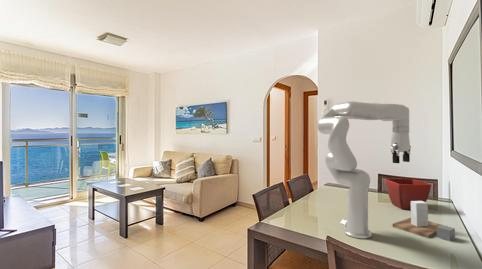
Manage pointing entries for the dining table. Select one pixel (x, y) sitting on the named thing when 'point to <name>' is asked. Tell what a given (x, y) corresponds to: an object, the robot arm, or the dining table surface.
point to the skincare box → (419, 213)
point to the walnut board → (417, 228)
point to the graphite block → (445, 232)
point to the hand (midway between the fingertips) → (401, 162)
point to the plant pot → (407, 191)
